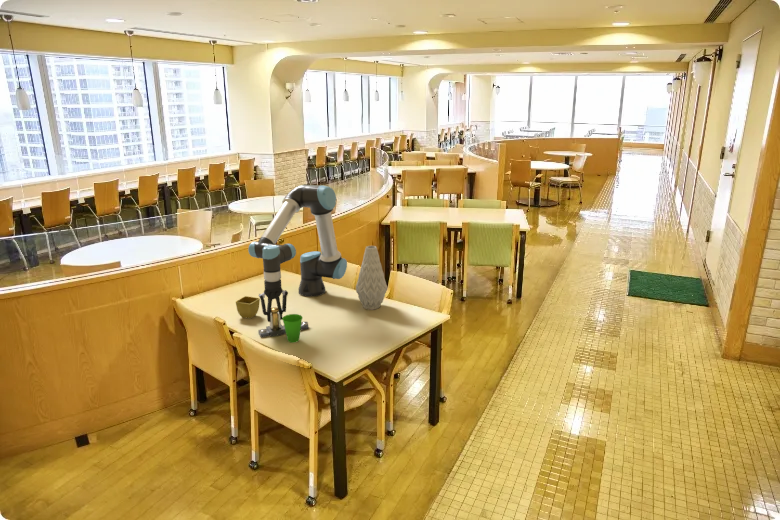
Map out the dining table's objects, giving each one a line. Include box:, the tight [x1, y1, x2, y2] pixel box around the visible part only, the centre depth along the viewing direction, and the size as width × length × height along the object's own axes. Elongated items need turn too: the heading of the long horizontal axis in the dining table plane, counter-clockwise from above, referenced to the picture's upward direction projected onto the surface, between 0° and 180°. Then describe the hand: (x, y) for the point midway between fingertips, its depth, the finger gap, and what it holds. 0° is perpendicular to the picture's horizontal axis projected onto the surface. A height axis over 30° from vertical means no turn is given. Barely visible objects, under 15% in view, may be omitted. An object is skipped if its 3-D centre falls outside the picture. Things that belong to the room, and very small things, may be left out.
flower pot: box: [235, 295, 261, 319], centre depth 266 cm, size 9×9×9 cm
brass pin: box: [271, 306, 279, 330], centre depth 247 cm, size 4×4×12 cm
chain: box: [257, 321, 309, 338], centre depth 250 cm, size 23×7×2 cm, turn 117°
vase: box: [355, 245, 388, 311], centre depth 276 cm, size 17×17×33 cm
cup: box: [281, 313, 303, 343], centre depth 240 cm, size 9×9×11 cm
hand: (275, 326), depth 248 cm, fingers closed on brass pin, 3 cm apart
